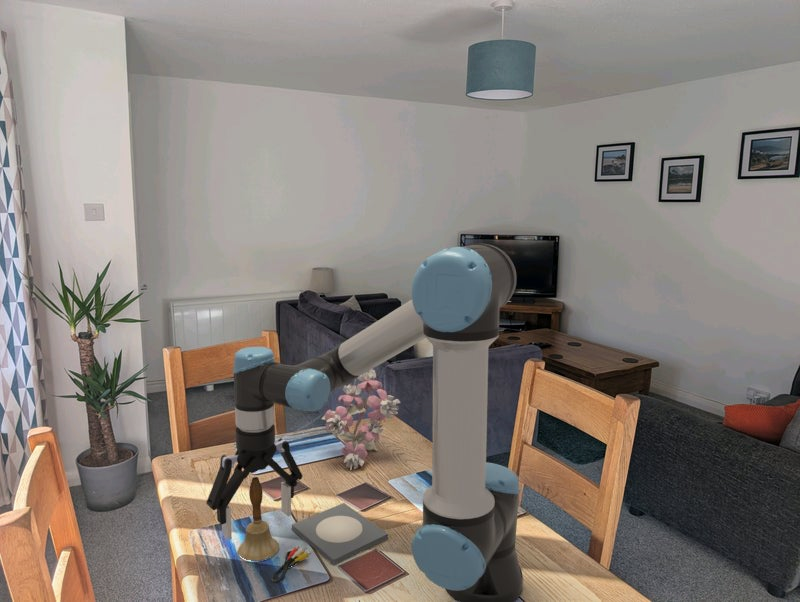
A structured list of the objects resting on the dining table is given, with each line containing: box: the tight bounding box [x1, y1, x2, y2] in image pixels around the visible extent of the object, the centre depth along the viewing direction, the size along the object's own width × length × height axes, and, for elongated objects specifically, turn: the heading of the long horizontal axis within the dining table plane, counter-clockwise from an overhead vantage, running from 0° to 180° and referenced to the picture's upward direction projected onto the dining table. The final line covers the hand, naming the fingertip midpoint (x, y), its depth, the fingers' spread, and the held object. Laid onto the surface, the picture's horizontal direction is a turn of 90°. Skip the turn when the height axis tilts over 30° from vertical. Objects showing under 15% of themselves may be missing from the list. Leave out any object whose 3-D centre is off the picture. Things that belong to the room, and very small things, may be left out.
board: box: [291, 502, 389, 566], centre depth 123 cm, size 16×14×1 cm
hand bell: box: [237, 476, 280, 562], centre depth 115 cm, size 8×8×16 cm
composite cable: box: [271, 545, 312, 584], centre depth 111 cm, size 10×5×2 cm, turn 148°
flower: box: [320, 368, 402, 471], centre depth 158 cm, size 20×22×25 cm
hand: (257, 524), depth 116 cm, fingers open, 12 cm apart
